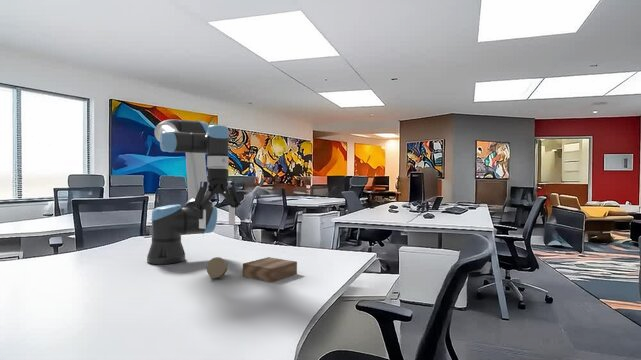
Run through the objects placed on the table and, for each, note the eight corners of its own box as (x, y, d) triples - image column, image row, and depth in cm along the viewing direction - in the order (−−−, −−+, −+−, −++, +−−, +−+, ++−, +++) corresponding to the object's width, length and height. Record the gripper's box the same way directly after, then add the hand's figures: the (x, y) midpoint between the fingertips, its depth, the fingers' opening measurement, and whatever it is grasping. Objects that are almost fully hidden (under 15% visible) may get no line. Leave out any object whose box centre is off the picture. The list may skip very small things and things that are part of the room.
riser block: (242, 277, 142) (242, 263, 142) (268, 269, 154) (268, 257, 154) (271, 283, 134) (271, 268, 134) (296, 275, 146) (296, 261, 146)
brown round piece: (232, 270, 147) (234, 251, 141) (222, 289, 139) (223, 269, 133) (213, 265, 147) (214, 245, 142) (202, 284, 139) (202, 264, 134)
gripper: (195, 167, 130) (195, 230, 130) (250, 168, 150) (249, 223, 150) (182, 167, 134) (181, 229, 134) (236, 169, 155) (236, 222, 155)
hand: (217, 226), depth 142 cm, fingers open, 13 cm apart
